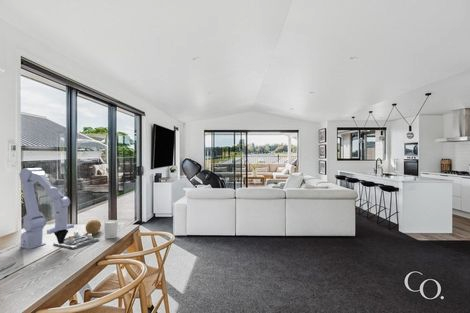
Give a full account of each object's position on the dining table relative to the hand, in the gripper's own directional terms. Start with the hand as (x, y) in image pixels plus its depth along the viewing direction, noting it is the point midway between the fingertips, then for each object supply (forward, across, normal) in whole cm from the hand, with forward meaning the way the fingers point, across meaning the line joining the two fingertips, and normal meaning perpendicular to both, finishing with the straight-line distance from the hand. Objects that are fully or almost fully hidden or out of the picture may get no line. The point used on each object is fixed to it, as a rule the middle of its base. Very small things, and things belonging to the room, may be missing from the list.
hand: (60, 243), depth 152 cm
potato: (+3, +28, +7) cm, 29 cm away
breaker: (+1, +6, 0) cm, 6 cm away
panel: (+3, +10, 0) cm, 10 cm away
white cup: (+3, +27, -9) cm, 29 cm away
